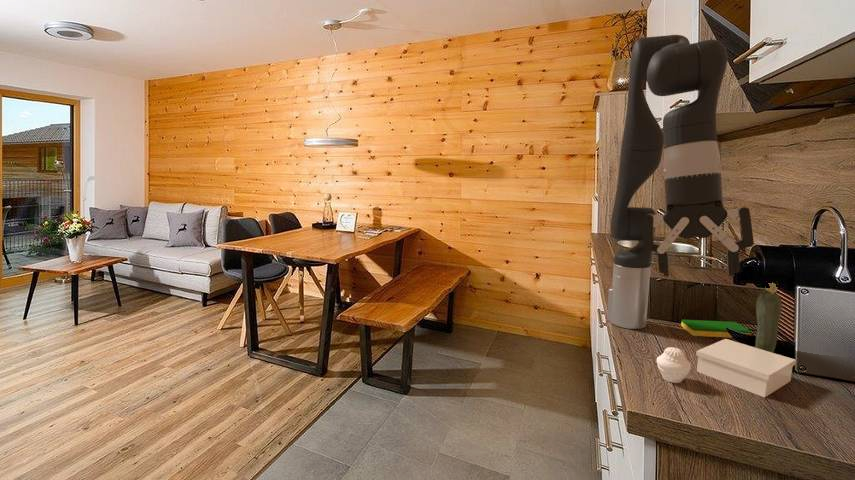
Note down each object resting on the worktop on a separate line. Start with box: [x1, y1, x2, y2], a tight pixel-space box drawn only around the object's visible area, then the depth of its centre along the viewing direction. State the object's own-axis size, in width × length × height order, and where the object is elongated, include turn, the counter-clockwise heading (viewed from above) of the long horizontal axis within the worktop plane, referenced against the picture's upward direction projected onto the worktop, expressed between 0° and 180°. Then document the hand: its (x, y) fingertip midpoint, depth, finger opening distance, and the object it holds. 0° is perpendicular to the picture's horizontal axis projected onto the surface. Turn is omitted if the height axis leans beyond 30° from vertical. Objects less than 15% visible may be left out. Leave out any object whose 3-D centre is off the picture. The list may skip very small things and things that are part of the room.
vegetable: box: [754, 282, 783, 353], centre depth 90 cm, size 4×4×20 cm
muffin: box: [656, 346, 692, 384], centre depth 83 cm, size 6×6×7 cm
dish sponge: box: [680, 319, 752, 339], centre depth 108 cm, size 7×14×2 cm, turn 81°
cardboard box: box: [695, 338, 797, 398], centre depth 84 cm, size 13×13×5 cm
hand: (697, 275), depth 64 cm, fingers open, 8 cm apart
